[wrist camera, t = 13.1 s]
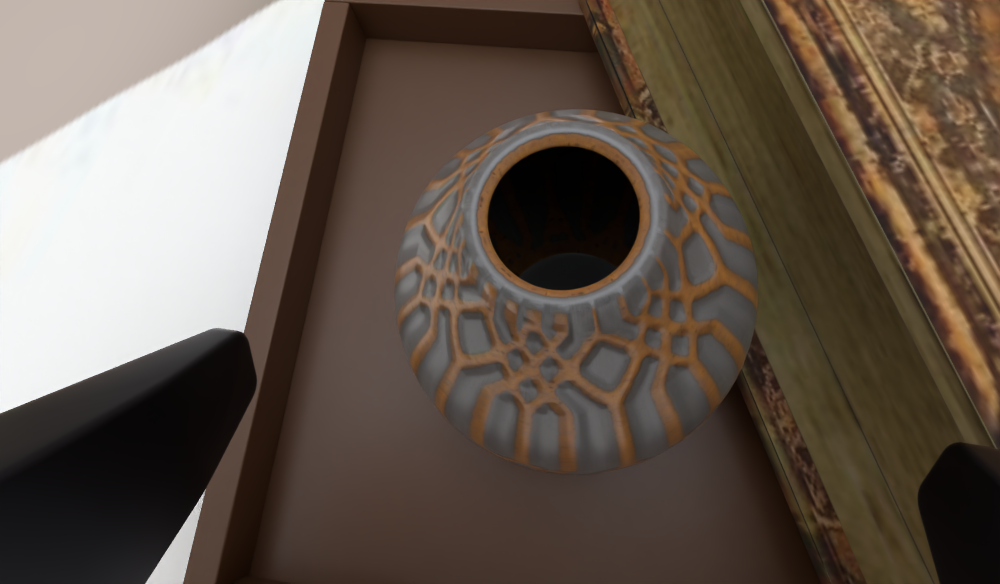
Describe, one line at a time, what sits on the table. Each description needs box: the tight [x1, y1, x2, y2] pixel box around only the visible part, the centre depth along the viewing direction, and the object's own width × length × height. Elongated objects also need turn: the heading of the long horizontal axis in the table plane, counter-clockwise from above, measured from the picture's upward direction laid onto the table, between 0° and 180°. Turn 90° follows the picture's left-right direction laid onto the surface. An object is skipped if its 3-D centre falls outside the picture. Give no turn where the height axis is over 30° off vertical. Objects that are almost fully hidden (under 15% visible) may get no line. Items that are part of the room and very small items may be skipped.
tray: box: [183, 0, 821, 584], centre depth 15 cm, size 18×17×3 cm
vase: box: [395, 109, 758, 475], centre depth 11 cm, size 7×7×9 cm
